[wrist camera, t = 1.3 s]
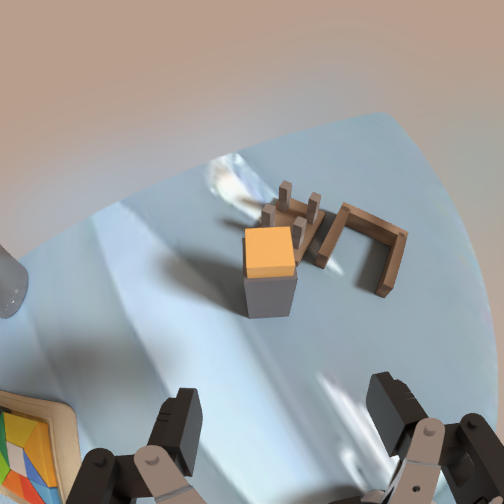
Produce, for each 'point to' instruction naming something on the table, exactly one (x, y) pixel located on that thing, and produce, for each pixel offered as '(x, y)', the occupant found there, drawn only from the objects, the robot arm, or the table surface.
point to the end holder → (371, 228)
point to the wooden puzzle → (37, 449)
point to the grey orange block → (269, 271)
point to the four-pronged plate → (295, 218)
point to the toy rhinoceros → (377, 496)
